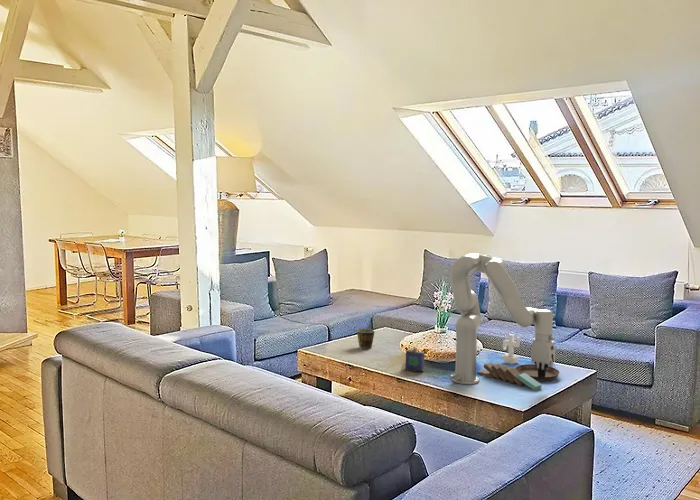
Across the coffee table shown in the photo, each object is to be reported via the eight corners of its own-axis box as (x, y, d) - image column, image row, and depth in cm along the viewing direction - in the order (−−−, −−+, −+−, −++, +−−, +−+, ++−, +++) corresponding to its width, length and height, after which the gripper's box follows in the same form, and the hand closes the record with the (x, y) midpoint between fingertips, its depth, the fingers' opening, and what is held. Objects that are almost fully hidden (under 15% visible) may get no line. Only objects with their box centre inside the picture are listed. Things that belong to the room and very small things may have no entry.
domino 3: (513, 376, 300) (499, 363, 306) (507, 378, 296) (492, 364, 303) (511, 380, 300) (497, 366, 307) (505, 382, 297) (490, 368, 304)
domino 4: (520, 378, 296) (505, 364, 303) (514, 380, 293) (499, 366, 300) (518, 381, 297) (503, 367, 304) (512, 383, 294) (497, 369, 301)
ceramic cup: (361, 345, 365) (361, 328, 364) (377, 347, 361) (377, 330, 360) (351, 350, 354) (351, 332, 353) (367, 352, 349) (367, 334, 348)
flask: (424, 371, 314) (425, 348, 313) (422, 372, 311) (422, 349, 310) (406, 368, 319) (407, 345, 318) (404, 369, 316) (404, 347, 315)
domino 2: (506, 374, 303) (491, 362, 310) (499, 376, 300) (484, 363, 307) (504, 377, 304) (489, 365, 311) (498, 379, 301) (483, 367, 308)
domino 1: (500, 374, 306) (483, 369, 314) (493, 375, 303) (477, 371, 310) (499, 378, 306) (483, 373, 314) (493, 380, 303) (477, 375, 311)
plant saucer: (548, 385, 293) (548, 378, 293) (507, 376, 307) (507, 370, 306) (566, 376, 309) (566, 369, 308) (526, 368, 322) (526, 361, 322)
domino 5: (528, 381, 293) (513, 367, 299) (522, 383, 290) (506, 368, 296) (526, 384, 294) (511, 370, 300) (520, 386, 291) (505, 372, 297)
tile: (534, 390, 285) (517, 378, 292) (540, 388, 288) (523, 376, 295) (535, 386, 284) (518, 374, 291) (542, 384, 287) (525, 372, 294)
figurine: (506, 359, 338) (507, 331, 336) (522, 363, 331) (523, 334, 329) (498, 361, 333) (499, 333, 331) (514, 365, 326) (515, 337, 324)
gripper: (562, 339, 279) (561, 379, 281) (533, 333, 291) (532, 372, 293) (553, 341, 275) (551, 382, 276) (524, 335, 286) (522, 374, 288)
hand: (541, 377), depth 285 cm, fingers closed
